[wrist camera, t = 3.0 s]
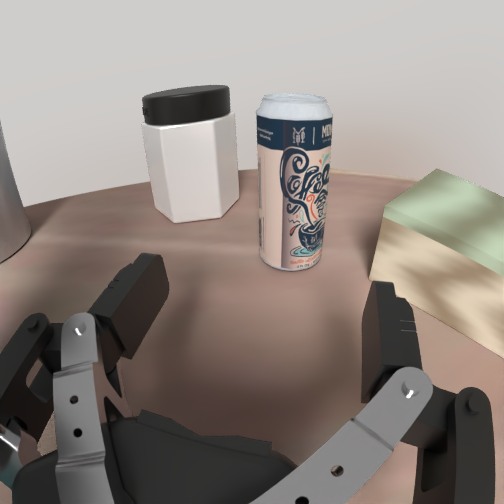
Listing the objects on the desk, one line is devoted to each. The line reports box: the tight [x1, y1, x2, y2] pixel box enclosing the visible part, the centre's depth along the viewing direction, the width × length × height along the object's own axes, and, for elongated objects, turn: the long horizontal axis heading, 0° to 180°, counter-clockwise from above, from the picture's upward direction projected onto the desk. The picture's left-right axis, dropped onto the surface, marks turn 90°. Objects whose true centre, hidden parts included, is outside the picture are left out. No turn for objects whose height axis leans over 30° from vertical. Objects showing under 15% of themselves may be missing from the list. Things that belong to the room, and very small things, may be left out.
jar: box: [142, 85, 239, 223], centre depth 29 cm, size 9×8×12 cm
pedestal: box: [369, 169, 504, 358], centre depth 19 cm, size 12×12×6 cm
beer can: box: [256, 94, 333, 271], centre depth 21 cm, size 5×5×12 cm
